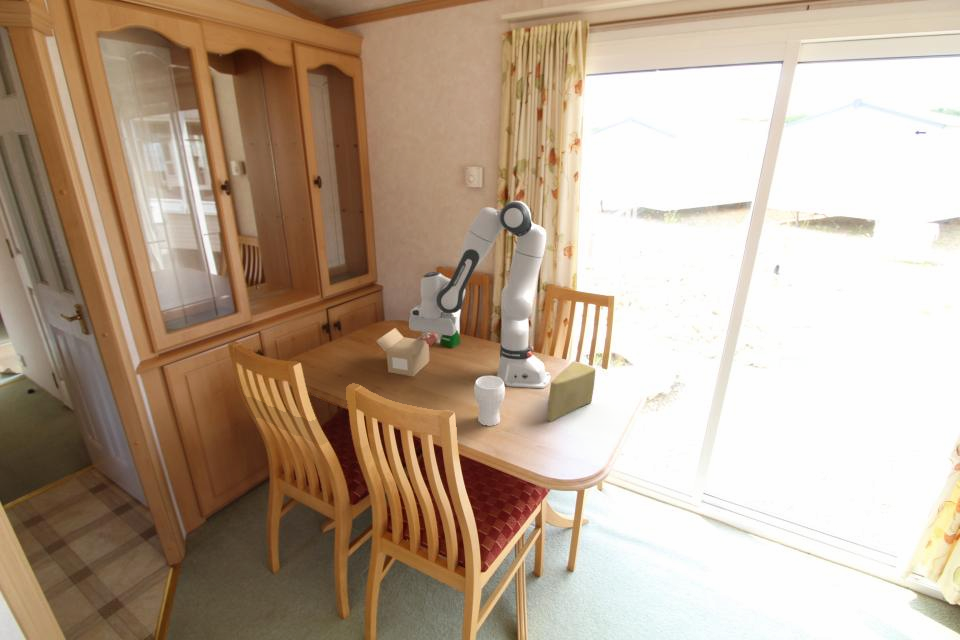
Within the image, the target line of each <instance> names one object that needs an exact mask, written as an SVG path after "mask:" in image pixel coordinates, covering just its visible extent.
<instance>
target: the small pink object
mask: <svg viewBox="0 0 960 640" xmlns="http://www.w3.org/2000/svg"><path fill="white" fill-rule="evenodd" d="M427 334H428V336H429V337H428V338H427V339H426V338H425V337H424V335H423V333H422V334H420V336H419V337H417V338H415V339H416V340H415V341H414V342H413V355H415V354H416V353H417V352H418V351H420V350H421V349H422V348H423V347H424V346H425V345H426V344H428V345H429V346H431V345H433V344H434V343H435V339H436V338H438V337H439V336H437V334H435V333H427Z"/></svg>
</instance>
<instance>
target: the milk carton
mask: <svg viewBox="0 0 960 640" xmlns="http://www.w3.org/2000/svg"><path fill="white" fill-rule="evenodd" d="M461 311H462V309H461V308H460V309H459V310H458V311H457V312H455V313H451V314H452V315H454V316H455V317H456V322H455V324H456V333H455V334H454V335H452V336H449V335H442V336H441V338H440V346H443V347H446V348H449V349H450V348H451V349H454V348H456V347H457V346H458V345H461V336H460V333H461V331H460V329H461V327H460V317H461ZM444 313H446V312H444Z"/></svg>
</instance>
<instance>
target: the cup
mask: <svg viewBox="0 0 960 640" xmlns="http://www.w3.org/2000/svg"><path fill="white" fill-rule="evenodd" d="M505 387H506V385H505V384H504V382H503V380H502V379H501V378H499V377H497V375H482V376H480V377H478V378H477V379H476V380H475V383H474V387H473V396H474V398H475V399H474V400H475V401H476V403H477V405H478V410H479V413H478V419H477V422H478V423H479V422H480V423H481V424H480V423H479V424H480V425H482V424H483V426H485V425H487V426H486V427H493V425H494V426H496V424H497V425H498V424H500V422H501V416H500V407H501V405H502V403H503V401H504V398H505V396H506V388H505Z"/></svg>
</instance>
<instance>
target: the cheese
mask: <svg viewBox="0 0 960 640" xmlns="http://www.w3.org/2000/svg"><path fill="white" fill-rule="evenodd" d="M595 379H596V367H595V368H594V367H593V366H590V365H587V364H584V363H581V362H579V361H572V362H571V363H570V364H569V365H568V366H567V367H565V368H564V369H563V370H562V371H561V372H560V373H559V374H558V375H557V376H555V378H553V380H552V381H550V387H549V393H548V394H549V395H548V401H547V416H546V417H547V418H546V420H547V421H549V422H553V420H554V421H556V420H557V418H558V419H559V418H561V417H563V416H565V415H567V414H569V413H571V412H573V411H575V410H577V409H579V408H581V406H582V407H584V406H586V405H589V404H590V403H592V401H593V394H594V388H595ZM555 419H556V420H555Z"/></svg>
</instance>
